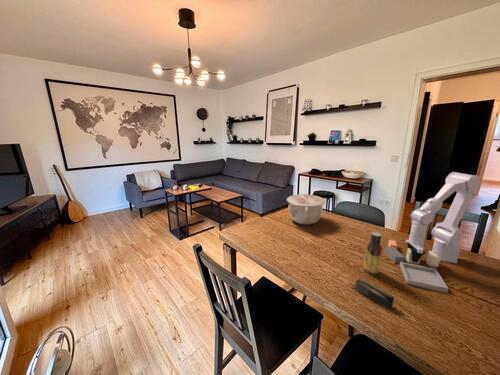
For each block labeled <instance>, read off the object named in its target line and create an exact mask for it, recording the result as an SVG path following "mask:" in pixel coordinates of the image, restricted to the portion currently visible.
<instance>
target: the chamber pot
mask: <svg viewBox="0 0 500 375" xmlns="http://www.w3.org/2000/svg"><path fill="white" fill-rule="evenodd" d="M286 202H288V213H289V216H290V218H291V219H292V220H293V222H295V223H297V224H299V225H314V224H315V223H317V222H318V221H319V220H320V219H321V217H322V215H323V211H324V210H323V209H324V208H323V205H325V203H326V200H325V199H324V197H321V196H318V195H314V194H309V193H308V194H304V193H303V194H301V193H299V194H294V195H289V196H288V197H286Z"/></svg>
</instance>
